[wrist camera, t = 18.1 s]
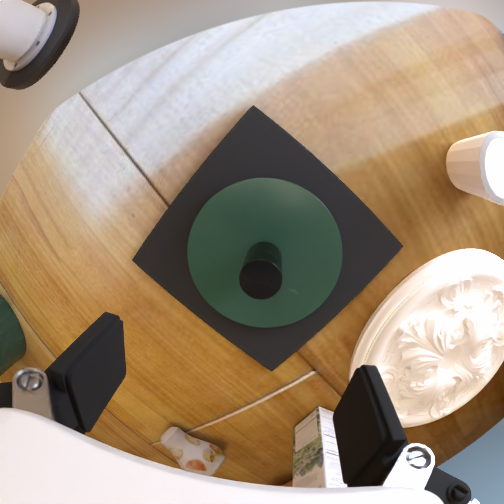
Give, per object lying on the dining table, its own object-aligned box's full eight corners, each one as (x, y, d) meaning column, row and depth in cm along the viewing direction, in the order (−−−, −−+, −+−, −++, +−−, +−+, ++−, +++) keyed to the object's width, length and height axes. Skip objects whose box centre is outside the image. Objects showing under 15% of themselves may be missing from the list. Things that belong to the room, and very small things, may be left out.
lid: (163, 259, 29) (134, 283, 22) (256, 145, 25) (249, 135, 19) (270, 345, 30) (267, 386, 24) (369, 249, 27) (394, 272, 20)
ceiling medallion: (304, 394, 33) (305, 411, 30) (443, 200, 25) (459, 204, 22) (431, 435, 34) (436, 447, 31) (536, 305, 27) (547, 313, 24)
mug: (171, 411, 36) (191, 466, 28) (219, 423, 41) (243, 470, 33) (146, 435, 36) (161, 487, 28) (193, 445, 41) (213, 490, 33)
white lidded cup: (464, 123, 22) (502, 116, 16) (492, 173, 23) (531, 177, 17) (430, 158, 24) (468, 157, 17) (461, 209, 25) (500, 220, 18)
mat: (134, 258, 30) (131, 260, 29) (253, 106, 25) (253, 104, 24) (271, 368, 32) (271, 371, 31) (401, 245, 27) (403, 246, 26)
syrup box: (322, 438, 35) (330, 519, 21) (291, 426, 35) (290, 513, 21) (349, 416, 33) (366, 502, 20) (317, 403, 33) (326, 497, 19)
